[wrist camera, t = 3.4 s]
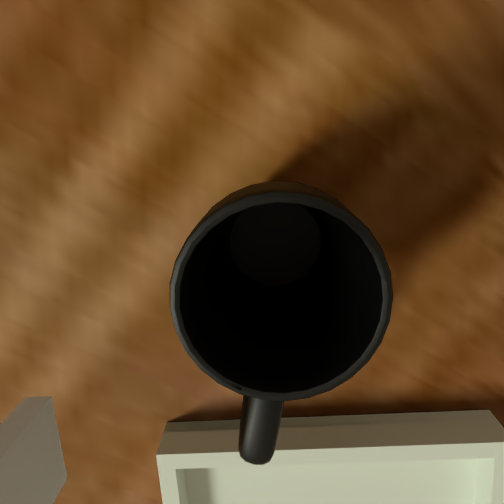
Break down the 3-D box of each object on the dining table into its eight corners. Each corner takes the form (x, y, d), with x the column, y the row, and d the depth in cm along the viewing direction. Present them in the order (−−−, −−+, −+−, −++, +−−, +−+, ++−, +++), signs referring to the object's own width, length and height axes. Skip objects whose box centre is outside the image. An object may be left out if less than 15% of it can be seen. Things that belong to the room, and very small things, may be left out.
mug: (185, 355, 28) (146, 466, 19) (213, 156, 25) (182, 172, 16) (318, 376, 28) (345, 498, 19) (362, 181, 25) (420, 211, 16)
